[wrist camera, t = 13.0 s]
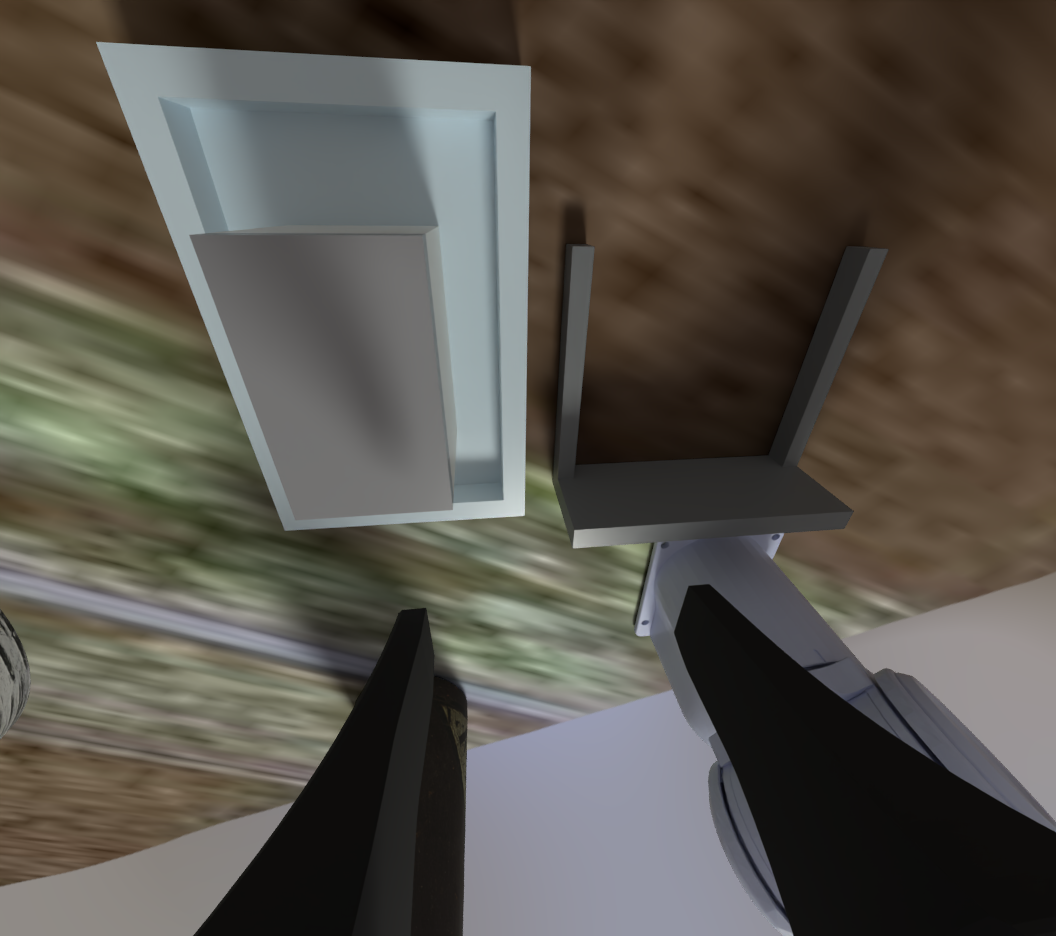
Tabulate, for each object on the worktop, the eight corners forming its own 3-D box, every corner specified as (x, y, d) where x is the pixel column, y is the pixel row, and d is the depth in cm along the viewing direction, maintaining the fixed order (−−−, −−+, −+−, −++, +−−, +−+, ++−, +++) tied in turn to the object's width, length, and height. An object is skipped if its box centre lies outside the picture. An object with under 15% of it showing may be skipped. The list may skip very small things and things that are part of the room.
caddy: (457, 429, 19) (452, 509, 14) (343, 434, 18) (295, 520, 13) (438, 225, 15) (422, 235, 10) (289, 225, 14) (188, 234, 9)
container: (410, 746, 34) (353, 1269, 17) (323, 705, 30) (131, 1355, 13) (494, 704, 32) (522, 1243, 16) (415, 653, 28) (332, 1333, 11)
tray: (520, 491, 22) (524, 515, 20) (300, 504, 21) (284, 530, 19) (523, 84, 13) (530, 66, 12) (147, 65, 12) (95, 42, 10)
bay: (775, 469, 23) (844, 528, 19) (552, 482, 22) (572, 548, 17) (864, 246, 17) (991, 259, 13) (566, 243, 16) (600, 257, 12)
